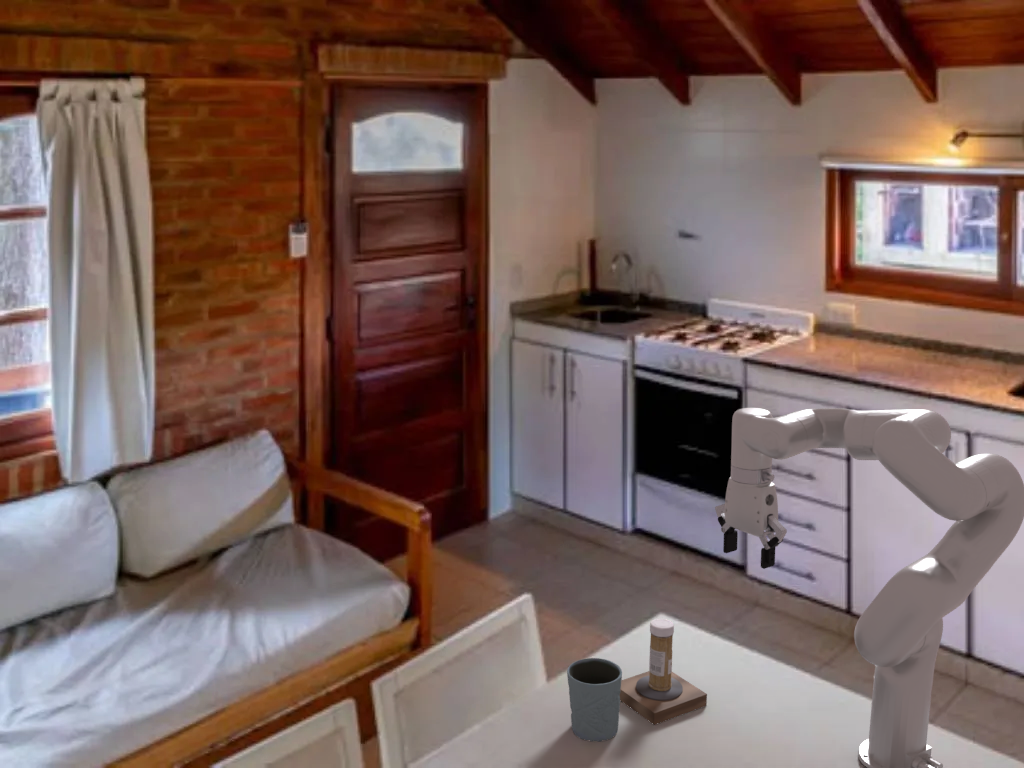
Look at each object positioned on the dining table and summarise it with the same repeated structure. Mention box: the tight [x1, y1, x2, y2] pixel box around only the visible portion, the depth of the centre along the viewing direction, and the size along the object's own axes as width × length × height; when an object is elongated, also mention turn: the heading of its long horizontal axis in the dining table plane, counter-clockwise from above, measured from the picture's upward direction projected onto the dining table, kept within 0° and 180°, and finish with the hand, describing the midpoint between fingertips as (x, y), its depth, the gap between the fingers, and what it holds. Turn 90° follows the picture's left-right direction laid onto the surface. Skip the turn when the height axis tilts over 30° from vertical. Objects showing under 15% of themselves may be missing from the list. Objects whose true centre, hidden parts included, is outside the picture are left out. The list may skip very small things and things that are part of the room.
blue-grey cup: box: [566, 657, 623, 742], centre depth 201 cm, size 10×10×12 cm
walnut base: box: [619, 670, 708, 726], centre depth 212 cm, size 13×13×3 cm
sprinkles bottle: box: [648, 618, 675, 691], centre depth 210 cm, size 5×5×14 cm
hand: (748, 559), depth 208 cm, fingers open, 9 cm apart
